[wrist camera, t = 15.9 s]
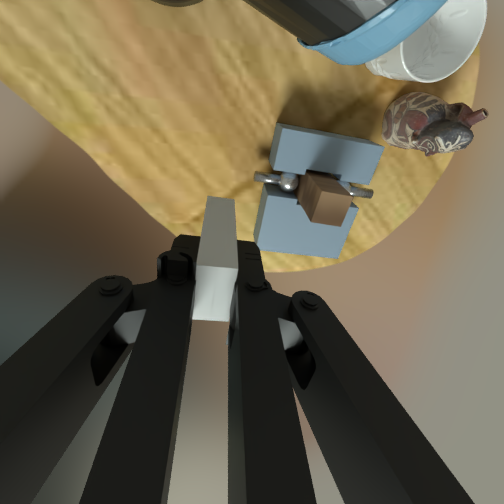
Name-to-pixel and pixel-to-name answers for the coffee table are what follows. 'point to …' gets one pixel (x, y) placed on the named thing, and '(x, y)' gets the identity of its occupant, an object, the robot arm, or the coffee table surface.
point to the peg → (322, 198)
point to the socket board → (297, 161)
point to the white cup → (436, 44)
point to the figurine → (429, 124)
